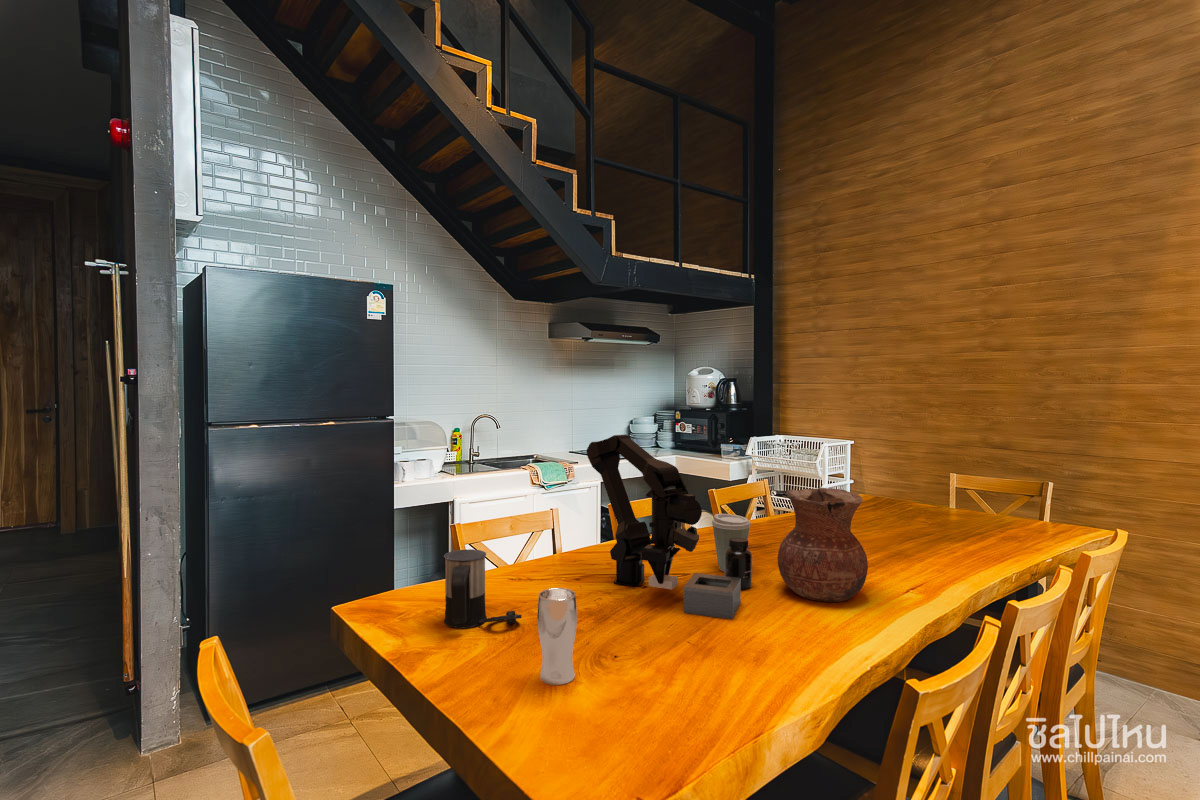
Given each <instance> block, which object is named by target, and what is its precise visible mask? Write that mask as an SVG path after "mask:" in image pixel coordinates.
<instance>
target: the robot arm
mask: <svg viewBox="0 0 1200 800" xmlns="http://www.w3.org/2000/svg"><path fill="white" fill-rule="evenodd" d="M586 456H587V459H588V461H589V463H590V465H591V467H592V468H593V469H594V470H595V471H596V472H597V473H598V474H599V475H600V476H601V479H602V482H603V484H604V488H605V491H606V493H607V496H608V500H609V504H610V505H611V509H612V511H613V514H614V517H615V520H616V523H617V527H616V530H615V540H616V543H614V545H613V546H612V547H611V549H610V550H609V553H610V558H611V560H612V561H613V560H614V561H615V565H616V567H615V571H616V572H615V574H616V575H615V576H616V577H615V580H614V581H613V584H615V585H622V586H630V587H631V586H632V587H638V586H639V585H640V584H641V583H642V582H644V581H645V564H644V563H643V561H647V562H648V564H649V566H650V568H651V570H652V572H653V574H654V575H655V577H656V579H657V581H658V583H659V584H663V582H664V576H665V575H670V572H671V567H672V564H673V560H674V556H675V555H677V553H678V552H679V551H680V550H681V548H682V549H684V550H685V551H686V552H689V553H692V552H693V551H694V550H696V547H697V544H698V542H699V540H700V535H699V534H698V530H697V527H694V525H696V524H697V523H698V522H700V520H701V517H702V513H703V509H702V507H701V504H700V503H699V501H697V500H696V495H695V494H689V491H688V489H687V486H686V484H685V482H684V481H683V479H682V476H681V475H680V471H679V469H678V468H677V466H675V465H673V464H671V463H669V462H667V461H664V460H659V459H657V458H655V457H654V456H653V455H651V454H650V453H649V452H648V451H647V450H645V449H644V448H643V447H642V446H640V445H639V444H638V443H636V442H635V441H634V440H633V439H631V437H630V435H628V434H615V435H612V436H609V437H608V438H606V439H603V440H600V441H591V442H590V443H589V445H588V447H587V448H586ZM621 456H622V458H624V459H625V460H626V461H628V462H629V463H630V465H632V466H633V467H635V468H636V469H637V470H638V471H639V472H640V473H641V474H642V478H643V481H644V482H645V483H646V484H647V486H648V487H649V489H650V490H649V491H648V492H646V494H645V497H647V498H651V520H650V521H649V523H648V524H649V526H647V522H646V521H640V520H639V519H637V518H636V516H635V513H634V511H633V510H634V509H633V507H632V504H631V501H630V499H629V495H628V492H627V490H626V486H625V485H624V481H623V479H622V475H621V473H620V469H619V465H620V461H621ZM679 523H682V524H686V525H689V526H690V527H688V528H687V529H686V528H685V527H683V528H682V527H679ZM648 527H650V528H651V533H650V532H649V529H648ZM676 546H678V547H676Z"/></svg>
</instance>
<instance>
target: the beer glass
mask: <svg viewBox="0 0 1200 800" xmlns="http://www.w3.org/2000/svg"><path fill="white" fill-rule="evenodd" d="M576 596H577V594H576V591H574V590H573V589H570V588H565V587H551V588H546V589H543V590H541V591H540V592H539V593H538V602H537V617H536V619H537V629H538V637H539V642H540V647H541V653H542V654H541V656H542V659H541V660H542V663H541V669H540V676H539V678H540V680H541V681H542V682H543V683H544V684H547V685H551V686H561V685H566V684H569V683H571V682H572V681H573V680H574V679H575V669H574V663H573V651H574V645H575V639H576V632H577V625H578V624H577V623H578V619H577V618H578V609H577V597H576Z"/></svg>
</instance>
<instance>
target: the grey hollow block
mask: <svg viewBox="0 0 1200 800" xmlns="http://www.w3.org/2000/svg"><path fill="white" fill-rule="evenodd" d="M741 591H742V590H741V578H736V577H727V576H725V575H716V574H707V573H698V572H694V573H693V575H691V577H690V579H688V580H687V582H686V583H685V585H684V586H683V614H688V615H696V616H704V617H711V618H719V619H726V620H733V619H734V618H735V615H736V613H737V611H738V610H739V607H740V605H741Z"/></svg>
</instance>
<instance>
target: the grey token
mask: <svg viewBox="0 0 1200 800" xmlns="http://www.w3.org/2000/svg"><path fill="white" fill-rule="evenodd" d="M678 578H679V577H678V576H675V575H670V574H669V575H665V576H664V582H663V584H659V583H658V581H657V579H656V577H655V575H654V573H652V575H650V576H649V577H648V587H653V588H660V589H664V590H665V589H667V590H674V588H676V587H677V586H678V584H679V583H678V580H679V579H678Z"/></svg>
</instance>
